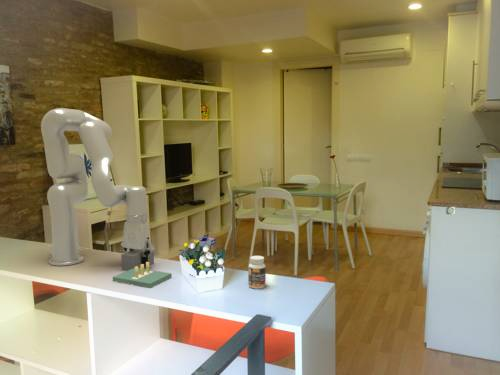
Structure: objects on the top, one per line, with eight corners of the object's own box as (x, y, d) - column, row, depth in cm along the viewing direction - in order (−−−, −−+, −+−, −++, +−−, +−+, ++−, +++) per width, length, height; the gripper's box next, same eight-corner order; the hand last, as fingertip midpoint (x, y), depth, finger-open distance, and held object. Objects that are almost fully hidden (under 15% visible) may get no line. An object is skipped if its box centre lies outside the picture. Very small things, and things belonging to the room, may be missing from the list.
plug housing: (133, 272, 163) (133, 256, 162) (121, 270, 165) (120, 254, 164) (153, 263, 173) (153, 248, 173) (142, 261, 176) (141, 246, 175)
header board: (112, 281, 153) (112, 266, 152) (135, 271, 163) (135, 257, 163) (150, 288, 146) (149, 272, 145) (171, 277, 157) (171, 262, 156)
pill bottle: (252, 290, 144) (253, 260, 143) (245, 284, 149) (245, 256, 148) (268, 287, 147) (268, 258, 146) (260, 282, 152) (260, 254, 151)
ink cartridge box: (202, 277, 157) (202, 237, 155) (189, 275, 159) (188, 235, 158) (216, 269, 166) (216, 231, 164) (203, 267, 168) (203, 230, 167)
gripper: (112, 218, 167) (113, 265, 169) (148, 222, 160) (150, 271, 162) (125, 215, 174) (127, 260, 176) (161, 219, 167) (162, 265, 169)
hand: (138, 264), depth 169 cm, fingers closed on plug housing, 5 cm apart
